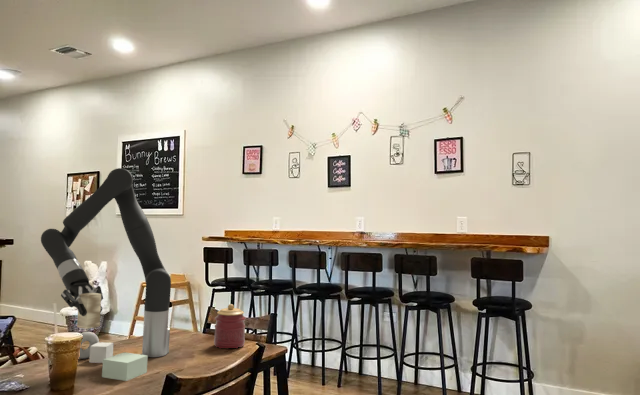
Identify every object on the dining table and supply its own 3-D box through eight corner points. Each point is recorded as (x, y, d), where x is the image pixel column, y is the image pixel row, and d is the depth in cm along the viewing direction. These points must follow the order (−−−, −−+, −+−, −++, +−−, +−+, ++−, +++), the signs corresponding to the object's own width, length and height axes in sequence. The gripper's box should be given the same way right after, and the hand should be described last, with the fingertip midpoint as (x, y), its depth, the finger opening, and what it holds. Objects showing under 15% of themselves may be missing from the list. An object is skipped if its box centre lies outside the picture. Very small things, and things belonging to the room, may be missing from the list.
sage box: (123, 369, 169) (124, 352, 169) (146, 373, 166) (147, 355, 166) (101, 377, 159) (102, 359, 160) (126, 381, 156) (127, 362, 157)
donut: (72, 362, 175) (74, 334, 176) (68, 360, 177) (70, 332, 178) (100, 357, 183) (101, 330, 183) (96, 355, 185) (97, 329, 185)
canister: (207, 346, 203) (209, 304, 205) (228, 340, 214) (229, 300, 216) (230, 351, 197) (232, 307, 198) (250, 345, 208) (252, 304, 209)
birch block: (90, 324, 166) (92, 292, 167) (99, 326, 164) (101, 293, 165) (77, 327, 162) (78, 294, 163) (86, 328, 160) (87, 295, 160)
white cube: (89, 362, 175) (90, 346, 176) (96, 358, 181) (97, 342, 182) (105, 363, 175) (106, 346, 176) (112, 358, 181) (113, 342, 182)
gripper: (58, 269, 162) (78, 309, 155) (96, 266, 174) (116, 303, 167) (48, 284, 164) (67, 324, 157) (86, 280, 176) (106, 317, 170)
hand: (92, 313), depth 162 cm, fingers closed on birch block, 5 cm apart
